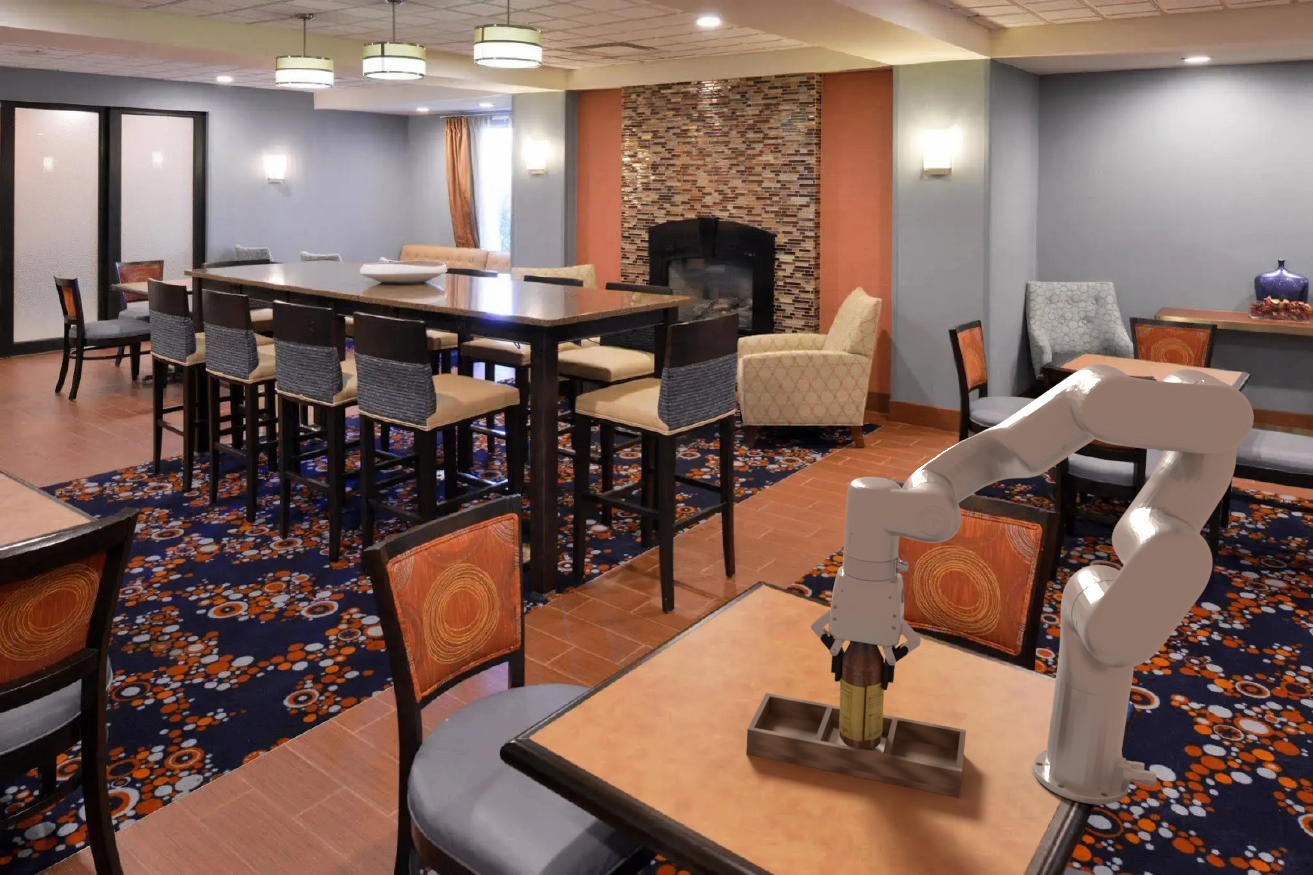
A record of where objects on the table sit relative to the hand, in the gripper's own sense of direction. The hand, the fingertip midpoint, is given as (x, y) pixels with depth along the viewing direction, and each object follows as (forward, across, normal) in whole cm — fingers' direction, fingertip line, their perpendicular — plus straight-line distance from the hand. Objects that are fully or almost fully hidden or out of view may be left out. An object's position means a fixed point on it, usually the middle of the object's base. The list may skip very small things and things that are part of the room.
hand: (861, 680), depth 143 cm
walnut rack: (+12, 0, 0) cm, 12 cm away
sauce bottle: (+10, 0, 0) cm, 10 cm away
